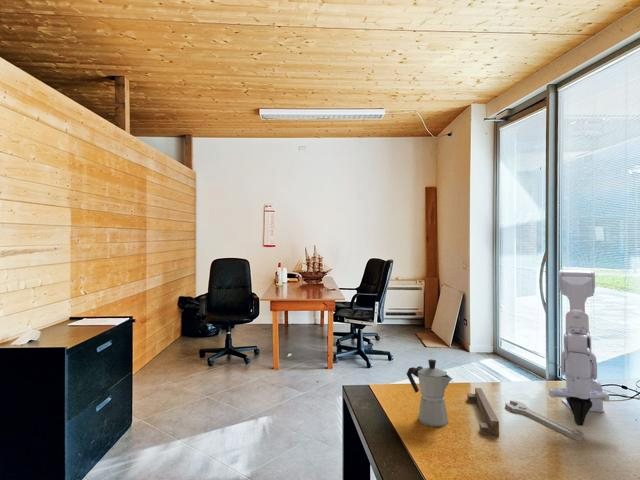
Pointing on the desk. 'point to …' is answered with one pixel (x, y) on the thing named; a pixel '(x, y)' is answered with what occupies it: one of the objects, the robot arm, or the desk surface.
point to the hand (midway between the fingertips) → (579, 424)
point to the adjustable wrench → (542, 419)
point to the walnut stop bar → (485, 413)
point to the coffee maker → (431, 393)
